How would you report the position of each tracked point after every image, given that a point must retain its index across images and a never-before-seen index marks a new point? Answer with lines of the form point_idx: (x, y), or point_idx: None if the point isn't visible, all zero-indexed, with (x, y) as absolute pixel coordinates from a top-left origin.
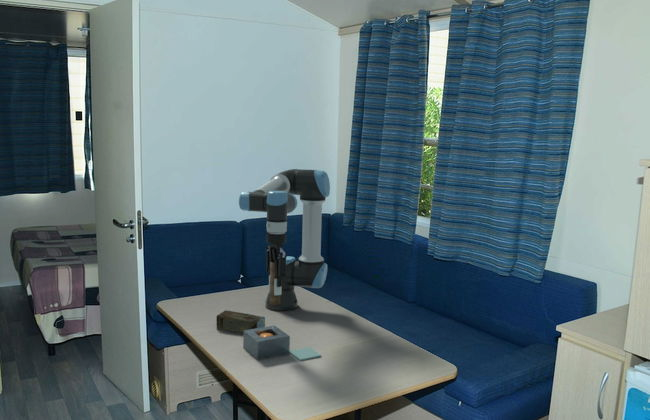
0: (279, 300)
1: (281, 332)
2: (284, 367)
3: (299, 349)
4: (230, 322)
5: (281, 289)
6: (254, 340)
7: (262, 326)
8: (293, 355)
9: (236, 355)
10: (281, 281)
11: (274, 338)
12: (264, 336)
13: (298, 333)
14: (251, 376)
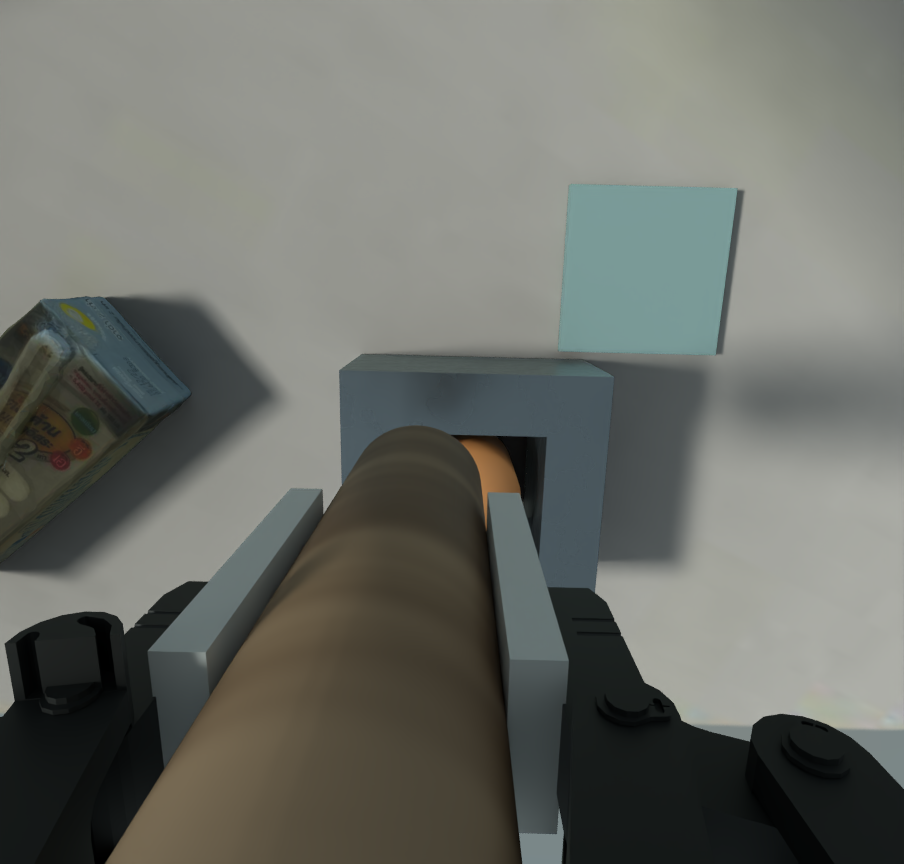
0: (470, 469)
1: (511, 395)
2: (735, 478)
3: (573, 273)
4: (19, 541)
5: (527, 526)
6: None
7: (114, 333)
8: (624, 352)
9: None
10: (630, 661)
11: (596, 499)
12: (486, 519)
13: (266, 98)
14: (732, 668)
